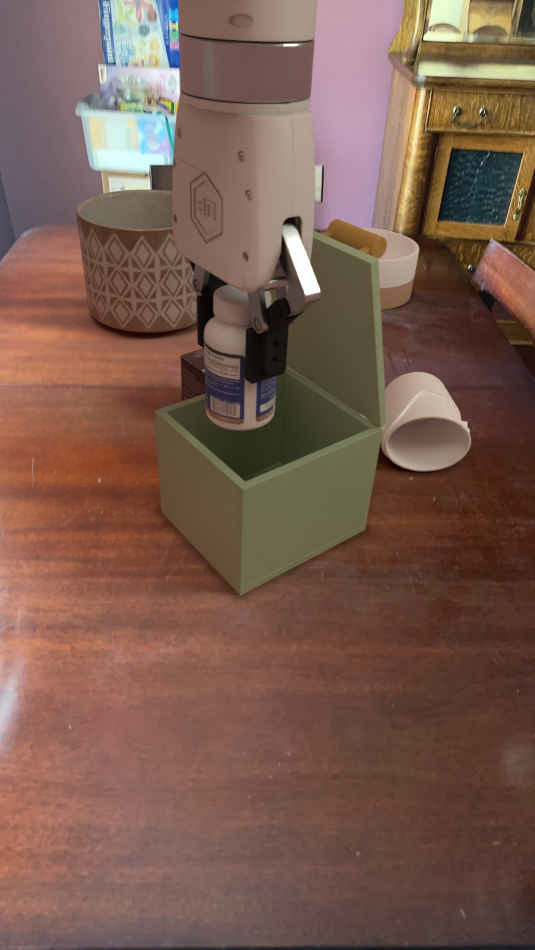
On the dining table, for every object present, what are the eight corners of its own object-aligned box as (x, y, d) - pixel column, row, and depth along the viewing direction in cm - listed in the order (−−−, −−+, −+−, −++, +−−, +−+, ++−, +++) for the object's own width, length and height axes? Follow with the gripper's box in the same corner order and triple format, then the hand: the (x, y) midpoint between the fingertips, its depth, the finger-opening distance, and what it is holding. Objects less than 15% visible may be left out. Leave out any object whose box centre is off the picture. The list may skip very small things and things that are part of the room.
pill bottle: (261, 391, 55) (265, 275, 49) (284, 426, 51) (292, 305, 45) (196, 401, 54) (193, 282, 48) (216, 438, 50) (215, 313, 44)
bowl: (411, 315, 111) (420, 265, 106) (307, 304, 113) (312, 255, 108) (410, 277, 125) (418, 231, 120) (318, 268, 126) (322, 222, 121)
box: (219, 392, 89) (219, 341, 85) (247, 412, 85) (249, 360, 81) (181, 406, 86) (178, 354, 81) (208, 427, 82) (208, 374, 78)
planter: (65, 328, 102) (48, 216, 92) (126, 283, 117) (118, 183, 107) (182, 352, 98) (178, 237, 88) (230, 302, 112) (232, 199, 102)
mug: (446, 429, 84) (459, 372, 79) (462, 475, 77) (479, 415, 72) (350, 425, 84) (358, 368, 79) (357, 471, 77) (367, 411, 72)
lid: (370, 263, 49) (426, 230, 51) (255, 211, 58) (307, 185, 60) (380, 427, 61) (425, 395, 63) (283, 364, 69) (326, 337, 71)
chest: (240, 596, 61) (243, 489, 53) (160, 511, 70) (153, 410, 62) (365, 530, 69) (383, 429, 61) (280, 461, 77) (286, 366, 70)
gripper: (118, 57, 42) (139, 327, 53) (284, 104, 31) (267, 429, 42) (220, 54, 46) (219, 307, 57) (400, 95, 35) (356, 396, 46)
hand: (240, 357), depth 49 cm, fingers closed on pill bottle, 5 cm apart
